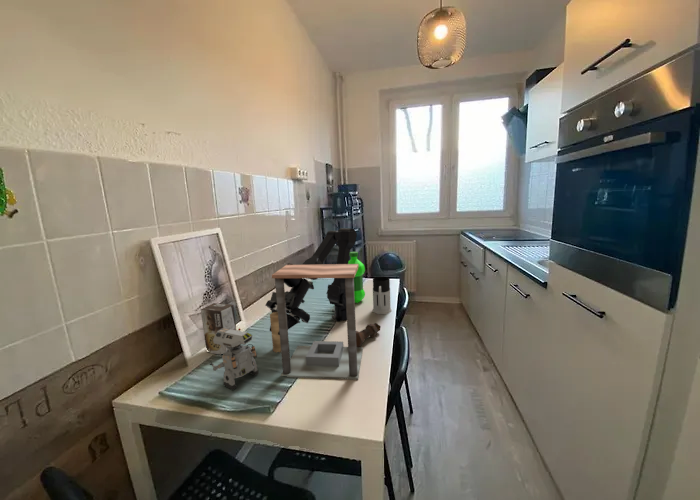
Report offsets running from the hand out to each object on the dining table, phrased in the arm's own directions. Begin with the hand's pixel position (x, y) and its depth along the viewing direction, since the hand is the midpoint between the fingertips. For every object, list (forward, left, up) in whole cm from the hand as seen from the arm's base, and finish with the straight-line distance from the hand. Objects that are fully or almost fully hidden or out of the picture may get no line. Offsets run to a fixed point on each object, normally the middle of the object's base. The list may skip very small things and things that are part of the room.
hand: (274, 333), depth 101 cm
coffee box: (-11, -17, -7) cm, 21 cm away
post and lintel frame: (+15, +12, -7) cm, 20 cm away
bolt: (+9, +31, -6) cm, 33 cm away
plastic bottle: (-31, +46, -7) cm, 56 cm away
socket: (+13, +13, -7) cm, 20 cm away
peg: (-1, +1, -7) cm, 7 cm away
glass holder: (-11, +49, -7) cm, 51 cm away
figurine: (+10, -14, -7) cm, 19 cm away
